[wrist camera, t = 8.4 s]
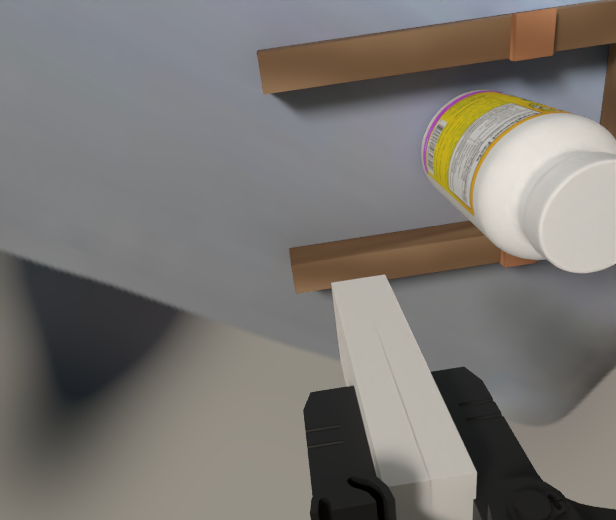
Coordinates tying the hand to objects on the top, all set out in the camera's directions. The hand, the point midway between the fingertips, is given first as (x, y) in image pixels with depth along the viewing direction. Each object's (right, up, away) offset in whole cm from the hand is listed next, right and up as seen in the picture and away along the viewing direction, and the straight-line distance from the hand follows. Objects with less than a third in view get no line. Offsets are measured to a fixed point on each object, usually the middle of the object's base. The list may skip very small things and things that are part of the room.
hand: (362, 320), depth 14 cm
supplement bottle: (+8, +9, +17) cm, 21 cm away
